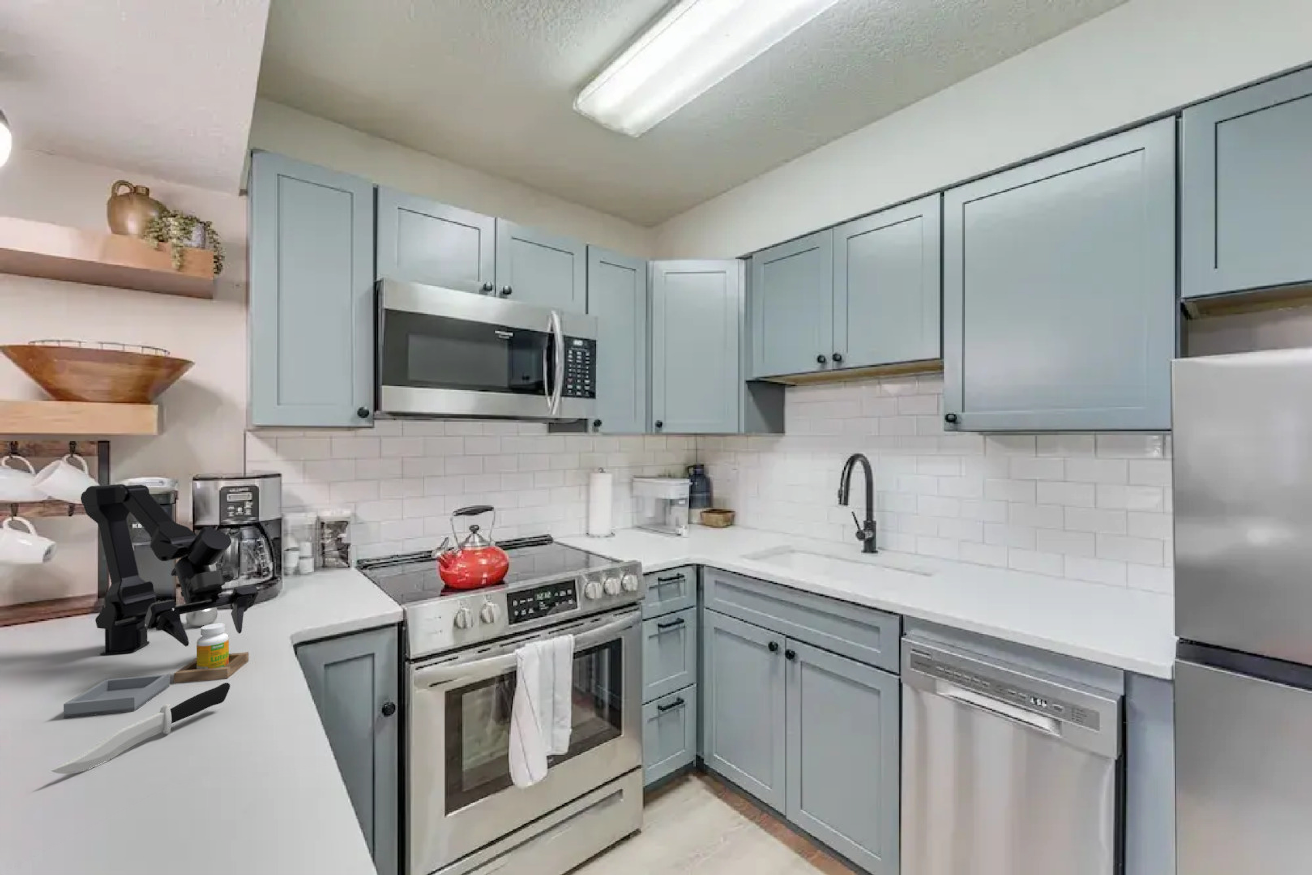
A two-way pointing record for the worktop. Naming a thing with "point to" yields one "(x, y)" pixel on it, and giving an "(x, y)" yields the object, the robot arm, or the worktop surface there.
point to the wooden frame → (211, 670)
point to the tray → (116, 695)
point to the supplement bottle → (212, 647)
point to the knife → (144, 730)
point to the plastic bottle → (202, 613)
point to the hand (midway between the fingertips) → (214, 638)
